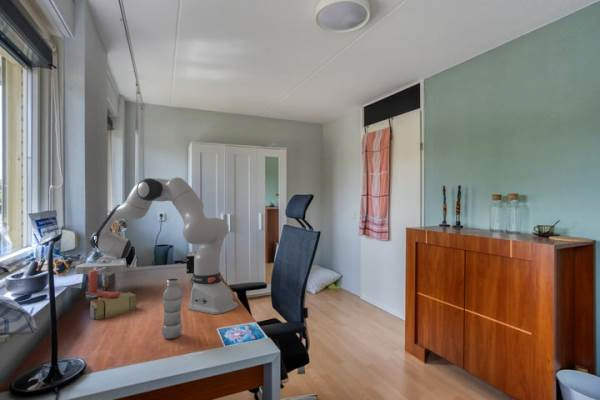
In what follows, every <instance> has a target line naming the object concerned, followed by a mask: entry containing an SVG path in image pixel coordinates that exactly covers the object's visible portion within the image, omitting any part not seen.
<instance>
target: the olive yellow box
mask: <svg viewBox="0 0 600 400" xmlns="http://www.w3.org/2000/svg"><path fill="white" fill-rule="evenodd" d="M136 309H137V295H136V294H135V293H132V292H130V291H128V292H120V295H119V296H117V297H108V296H99V297H97V299H91V300H90V305H89V317H90V318H91V319H93V320H101V319H104V318H105V319H106V318H110V317H114V316H118V315H121V314H126V313H129V312H131V311H135V310H136Z"/></svg>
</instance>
